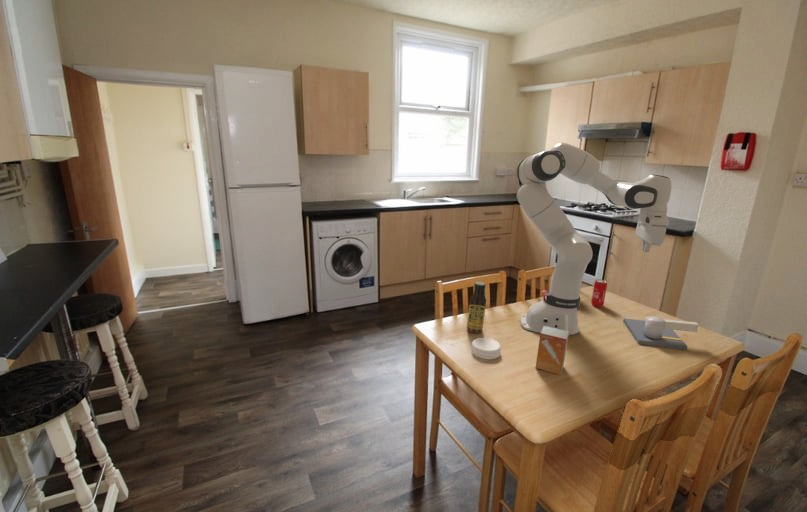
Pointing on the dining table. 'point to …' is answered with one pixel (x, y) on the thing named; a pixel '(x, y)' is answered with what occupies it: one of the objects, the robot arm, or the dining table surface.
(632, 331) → the plate
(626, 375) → the dining table surface
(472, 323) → the sauce bottle
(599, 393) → the dining table surface
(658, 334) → the white measuring scoop
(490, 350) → the white bowl
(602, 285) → the beverage can
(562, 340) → the small box
